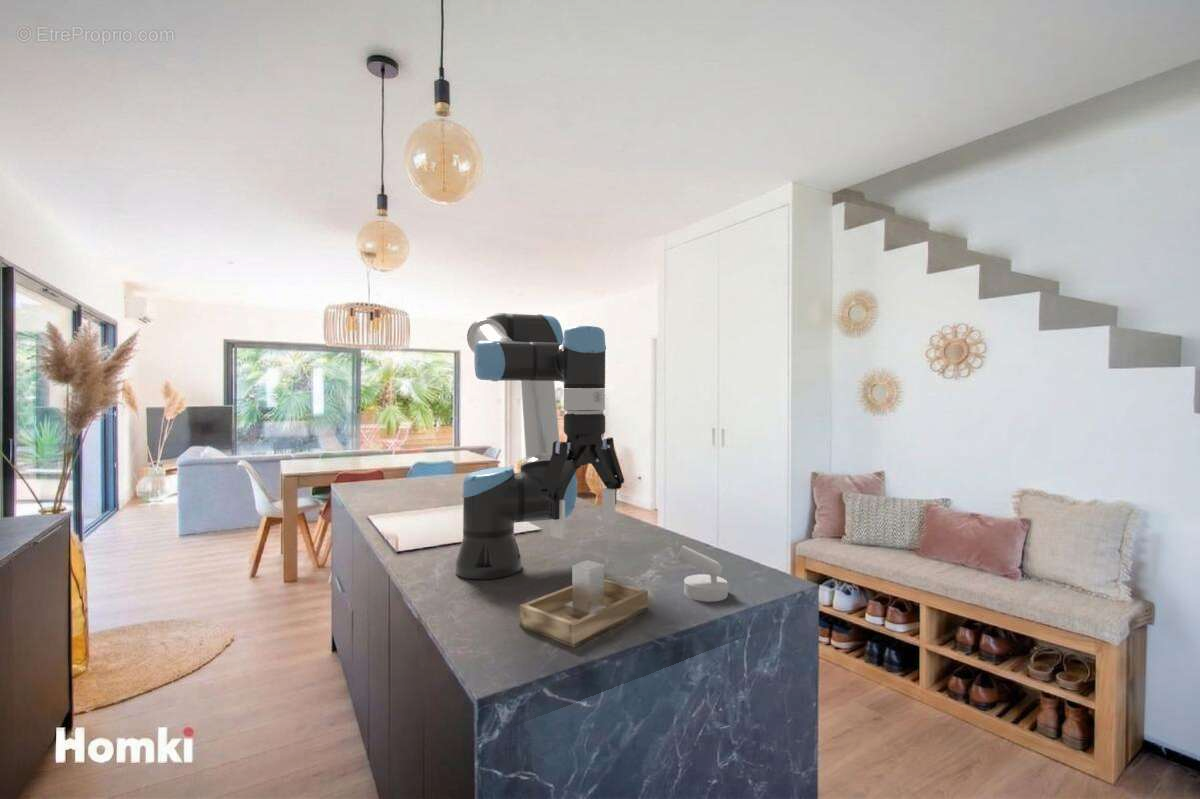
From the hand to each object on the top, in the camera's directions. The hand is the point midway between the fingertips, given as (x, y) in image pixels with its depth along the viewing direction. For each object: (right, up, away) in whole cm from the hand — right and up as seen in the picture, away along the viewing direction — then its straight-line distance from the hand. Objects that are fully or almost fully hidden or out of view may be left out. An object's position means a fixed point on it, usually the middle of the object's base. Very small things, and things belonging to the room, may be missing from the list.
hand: (584, 529), depth 95 cm
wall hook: (+23, -16, +11) cm, 30 cm away
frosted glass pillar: (+1, -15, -1) cm, 15 cm away
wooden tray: (0, -16, -1) cm, 16 cm away
